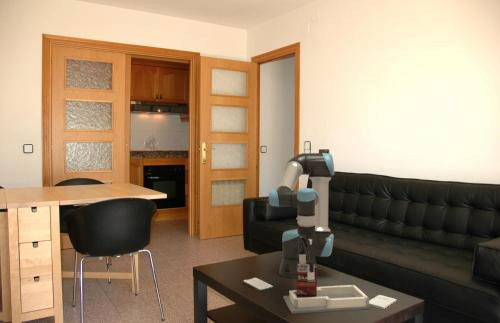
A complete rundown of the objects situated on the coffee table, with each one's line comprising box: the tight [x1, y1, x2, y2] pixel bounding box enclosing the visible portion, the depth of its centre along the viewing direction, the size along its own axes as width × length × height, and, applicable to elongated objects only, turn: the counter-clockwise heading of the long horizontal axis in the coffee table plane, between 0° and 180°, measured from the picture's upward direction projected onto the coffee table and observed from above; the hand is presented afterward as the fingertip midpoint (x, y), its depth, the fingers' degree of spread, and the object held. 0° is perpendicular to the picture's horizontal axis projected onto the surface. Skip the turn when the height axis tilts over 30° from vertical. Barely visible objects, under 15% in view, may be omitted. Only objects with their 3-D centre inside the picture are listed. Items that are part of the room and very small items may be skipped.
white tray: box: [282, 284, 371, 314], centre depth 172 cm, size 17×33×4 cm, turn 97°
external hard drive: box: [369, 294, 398, 310], centre depth 172 cm, size 2×8×12 cm
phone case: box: [242, 277, 275, 292], centre depth 195 cm, size 9×2×16 cm
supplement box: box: [296, 263, 318, 298], centre depth 171 cm, size 9×5×16 cm, turn 83°
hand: (306, 274), depth 171 cm, fingers open, 13 cm apart
